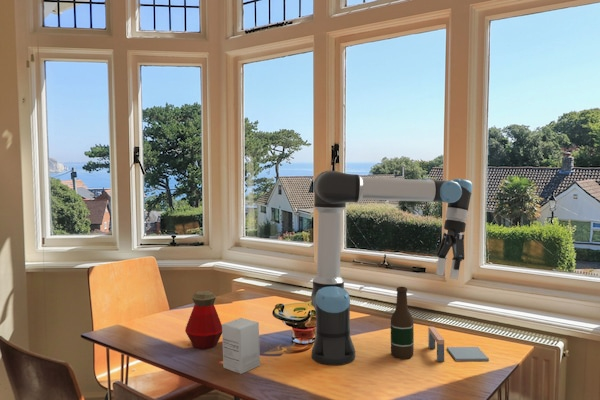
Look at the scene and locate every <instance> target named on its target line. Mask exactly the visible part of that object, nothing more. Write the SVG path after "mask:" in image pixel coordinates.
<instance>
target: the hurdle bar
mask: <svg viewBox="0 0 600 400" xmlns="http://www.w3.org/2000/svg"><path fill="white" fill-rule="evenodd" d="M427 328H428V331H429V332H430V334H431V335H432V336H433V338H434V339H435V343H436V344H437V343H438V344H444V345H445V339H444V338H443V336H442V335H441V333H440V332H439V331H438V330H437V329H436V328H435V326H428V327H427ZM428 331H427V332H428Z"/></svg>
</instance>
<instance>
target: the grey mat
mask: <svg viewBox="0 0 600 400" xmlns="http://www.w3.org/2000/svg"><path fill="white" fill-rule="evenodd" d="M446 350H447V352H448V353H449V355H451V357H452V358H453V359H454V361H455V362H489V361H490V360H489V359H490V358H489V357H488V356H487V355H486V354H485V352H483V351H482V350H481V348H480V347H479V346H446Z"/></svg>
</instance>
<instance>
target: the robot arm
mask: <svg viewBox="0 0 600 400" xmlns="http://www.w3.org/2000/svg"><path fill="white" fill-rule="evenodd" d="M312 185H313V186H312V189H313V193H314V199H313V200H314V201H313V203H314V204H313V205H314V209H315V210H316V211H317V212H318V213H317V214H318V215H317V216H318V217H317V259H316V260H317V262H316V263H317V265H316V273H317V274H316V276H315V277H313V279H312V292H311V296H310V299H311V304H312V306H313V309H314V311H315V322H316V328H315V329H316V331H315V332H316V334H315V339H314V343H313V346H312V349H311V359H312V360H313V361H315V362H316V363H319V364H322V365H328V366H339V365H346V364H349V363H351V362H353V361H354V360H356V350H355V346H354V342H353V340H352V337H351V325H350V323H351V314H350V313H351V311H350V307H351V306H350V305H351V297H350V293H349V291H348V290H346V289H345V280H344V278H343V277H342V276H341V250H342V249H341V248H342V247H341V246H342V245H341V244H342V212H343V211H344V210H345V209H346V205H347V203H359V202H360V201H361V200H363V201H368V200H369V201H395V202H396V201H397V202H399V201H400V202H402V201H403V202H428V203H429V202H433V203H446V204H447V206H446V207H447V208H446V213H445V218H446V219H445V221H444V227H443V229H444V230H445V231H447V232H443V234H442V235H443V236H442V238H441V241H440V244H439V247H438V250H437V252H436V256H437V257H438V260H437V267H436V271H435V272H436V273H435V275H437V276H442V277H443V276H444V273H445V268H446V262H447V259H448V257H447V255H448V253H449V252H450V250H451V248H452V254H453V255H452V256H453V257H452V259H451V260H452V261H451V268H450V273H449V279H453V280H459V279H458V278H459V274H460V267H461V262H462V261H464V260H465V240H464V239H465V234H464V233H465V231H466V227H467V226H466V225H467V223H466V221H468V220H467V219H468V217H469V207H470V201H471V196H472V192H473V191H472V190H473V183H472V182H471V181H470V180H467V179H463V178H462V179H461V178H453V179H452V180H443V179H442V180H441V179H433V178H425V177H423V178H422V179H412V178H411V179H407V178H385V177H384V178H381V177H380V178H379V177H378V178H376V177H361V175H360V174H353V173H352V174H351V173H345V172H341V171H338V170H337V171H336V170H326V171H322V172H321V173H319V174H318V175H317V176H316V177H315V179H314V181H313V184H312Z"/></svg>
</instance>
